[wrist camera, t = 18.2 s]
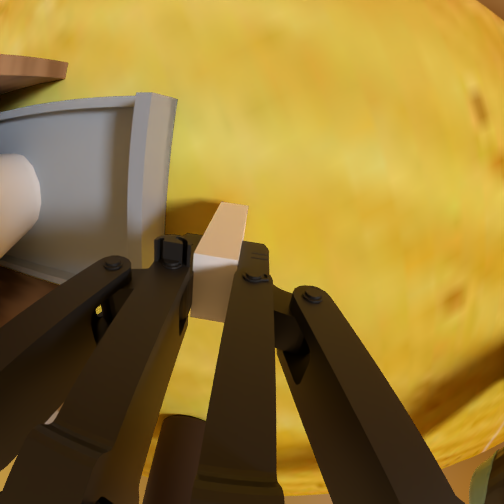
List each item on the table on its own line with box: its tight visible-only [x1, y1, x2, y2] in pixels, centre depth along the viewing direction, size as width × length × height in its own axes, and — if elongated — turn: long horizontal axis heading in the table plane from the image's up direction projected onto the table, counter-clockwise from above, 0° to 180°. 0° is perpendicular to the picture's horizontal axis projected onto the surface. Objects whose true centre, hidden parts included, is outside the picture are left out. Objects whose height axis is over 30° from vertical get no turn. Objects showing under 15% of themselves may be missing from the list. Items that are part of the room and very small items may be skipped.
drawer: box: [0, 93, 178, 285], centre depth 14 cm, size 20×13×4 cm, turn 81°
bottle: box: [143, 416, 206, 504], centre depth 19 cm, size 7×7×20 cm
